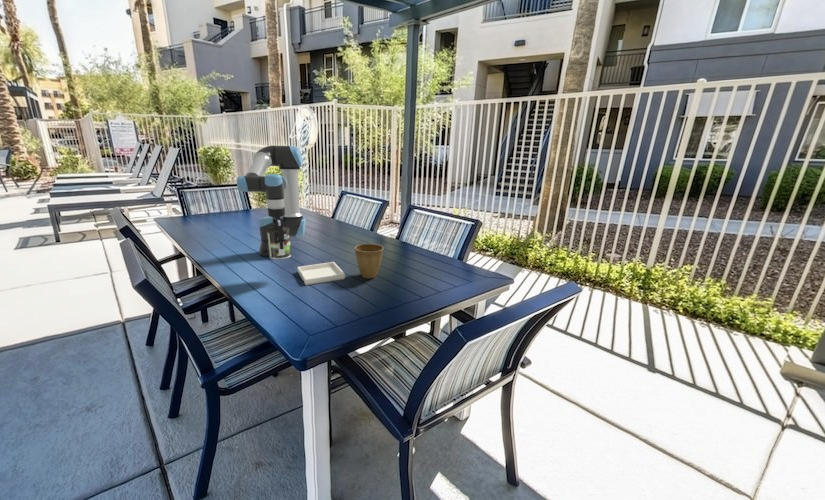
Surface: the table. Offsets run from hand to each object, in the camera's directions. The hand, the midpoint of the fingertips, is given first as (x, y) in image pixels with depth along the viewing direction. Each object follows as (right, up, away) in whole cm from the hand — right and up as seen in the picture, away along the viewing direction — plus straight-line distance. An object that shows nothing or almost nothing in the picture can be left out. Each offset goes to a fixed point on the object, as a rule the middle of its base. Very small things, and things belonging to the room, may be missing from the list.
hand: (280, 251), depth 169 cm
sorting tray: (+17, -13, +11) cm, 24 cm away
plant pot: (+43, -13, +13) cm, 47 cm away
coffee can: (0, -2, +1) cm, 3 cm away
